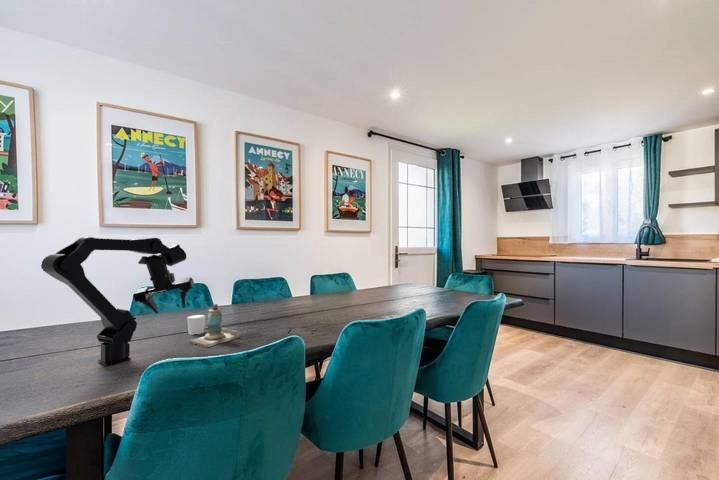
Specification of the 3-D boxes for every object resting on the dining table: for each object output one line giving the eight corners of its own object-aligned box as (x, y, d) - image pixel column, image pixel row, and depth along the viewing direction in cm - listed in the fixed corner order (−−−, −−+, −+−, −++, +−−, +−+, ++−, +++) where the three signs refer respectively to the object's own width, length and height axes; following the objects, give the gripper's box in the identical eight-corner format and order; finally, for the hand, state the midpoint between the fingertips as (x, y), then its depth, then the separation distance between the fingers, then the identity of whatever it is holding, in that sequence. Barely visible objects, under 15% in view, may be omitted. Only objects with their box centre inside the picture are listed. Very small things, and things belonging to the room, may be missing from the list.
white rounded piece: (200, 335, 128) (200, 318, 128) (183, 335, 129) (183, 318, 129) (208, 330, 135) (208, 314, 135) (192, 330, 135) (192, 314, 135)
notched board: (206, 347, 114) (206, 340, 114) (189, 342, 119) (189, 336, 119) (238, 337, 126) (238, 331, 126) (222, 333, 131) (222, 327, 131)
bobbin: (216, 340, 119) (217, 306, 119) (201, 339, 120) (201, 306, 120) (227, 335, 125) (227, 303, 125) (212, 334, 126) (213, 302, 127)
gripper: (190, 258, 124) (201, 294, 128) (135, 270, 118) (149, 307, 123) (185, 267, 113) (197, 306, 118) (125, 280, 108) (140, 320, 113)
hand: (171, 309), depth 118 cm, fingers open, 9 cm apart
